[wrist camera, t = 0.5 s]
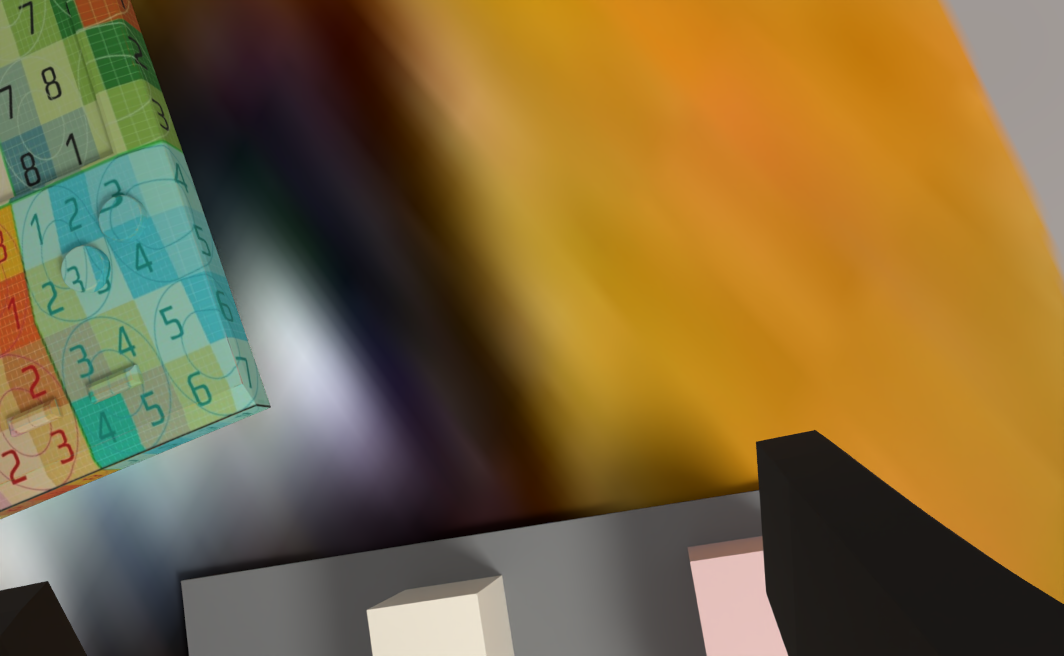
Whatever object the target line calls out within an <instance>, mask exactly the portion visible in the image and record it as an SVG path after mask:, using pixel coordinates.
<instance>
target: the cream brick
mask: <svg viewBox="0 0 1064 656" xmlns="http://www.w3.org/2000/svg"><path fill="white" fill-rule="evenodd" d="M367 616H368V624H369V631H370V639H371V646H372V654H373V656H514V651H513V644H512V637H511V631H510V624H509V618H508V611H507V605H506V598H505V592H504V585H503V579H502V575H500V576H493V577H487V578H480V579H473V580H467V581H460V582H454V583H447V584H440V585H434V586H427V587H420V588H414V589H407V590H404V591H402V592H400V593H398V594H396V595H394V596H392V597H391V598H389V599H387V600H385V601H383V602H381V603H379V604H377V605H375V606H373V607H371V608H370V609H368V610H367Z"/></svg>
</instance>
